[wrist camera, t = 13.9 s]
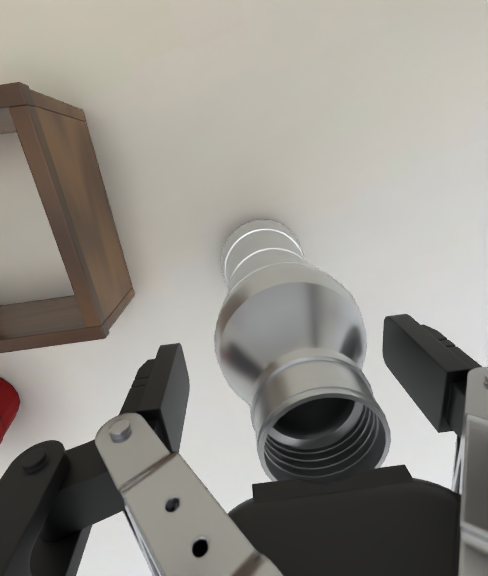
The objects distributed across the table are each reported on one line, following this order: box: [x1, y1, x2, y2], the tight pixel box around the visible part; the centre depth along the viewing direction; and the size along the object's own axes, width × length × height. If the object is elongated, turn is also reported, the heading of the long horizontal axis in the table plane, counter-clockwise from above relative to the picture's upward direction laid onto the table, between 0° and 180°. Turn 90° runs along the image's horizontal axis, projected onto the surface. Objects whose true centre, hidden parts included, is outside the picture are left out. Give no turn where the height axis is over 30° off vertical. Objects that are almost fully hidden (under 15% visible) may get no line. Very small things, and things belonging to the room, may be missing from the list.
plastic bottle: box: [214, 220, 391, 484], centre depth 18 cm, size 6×7×20 cm
